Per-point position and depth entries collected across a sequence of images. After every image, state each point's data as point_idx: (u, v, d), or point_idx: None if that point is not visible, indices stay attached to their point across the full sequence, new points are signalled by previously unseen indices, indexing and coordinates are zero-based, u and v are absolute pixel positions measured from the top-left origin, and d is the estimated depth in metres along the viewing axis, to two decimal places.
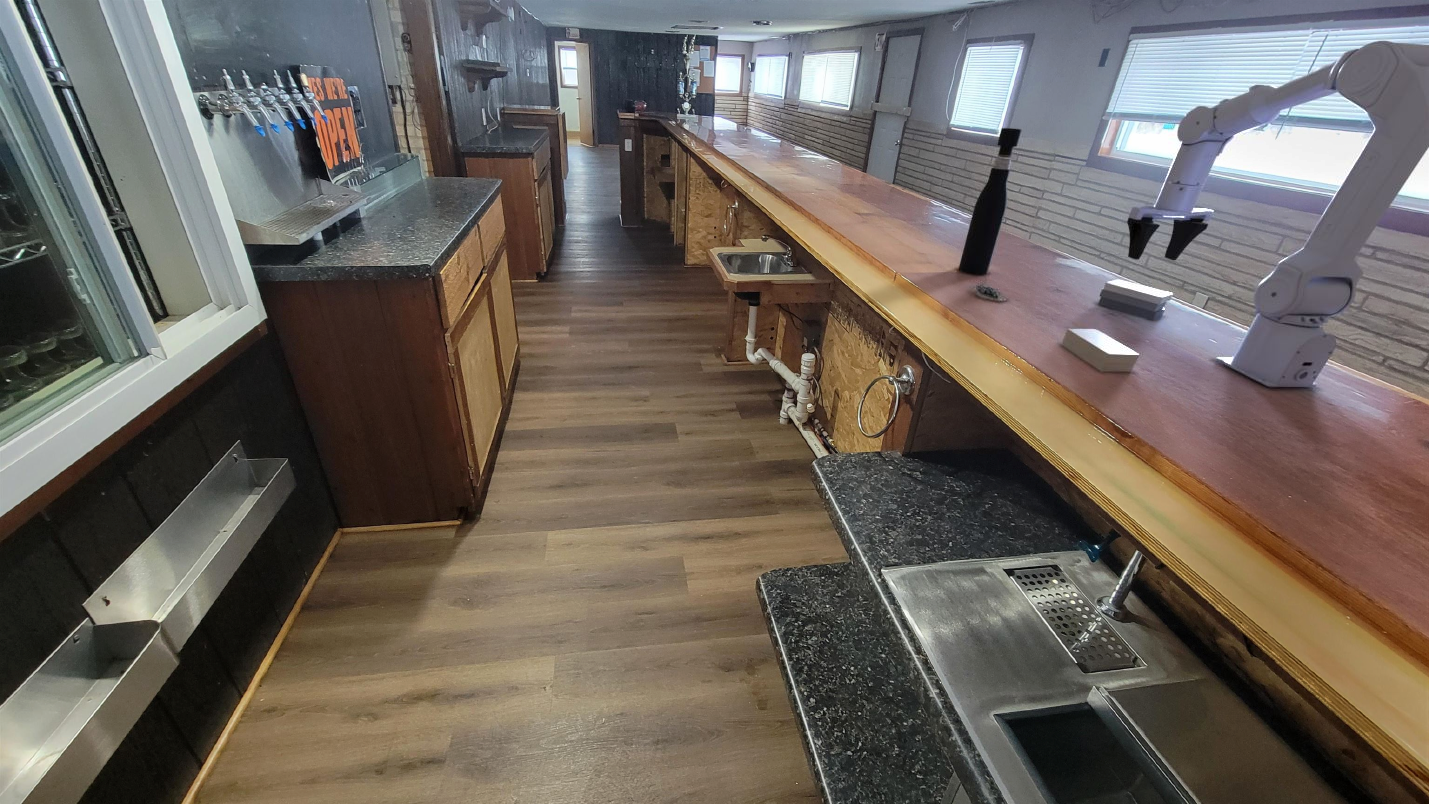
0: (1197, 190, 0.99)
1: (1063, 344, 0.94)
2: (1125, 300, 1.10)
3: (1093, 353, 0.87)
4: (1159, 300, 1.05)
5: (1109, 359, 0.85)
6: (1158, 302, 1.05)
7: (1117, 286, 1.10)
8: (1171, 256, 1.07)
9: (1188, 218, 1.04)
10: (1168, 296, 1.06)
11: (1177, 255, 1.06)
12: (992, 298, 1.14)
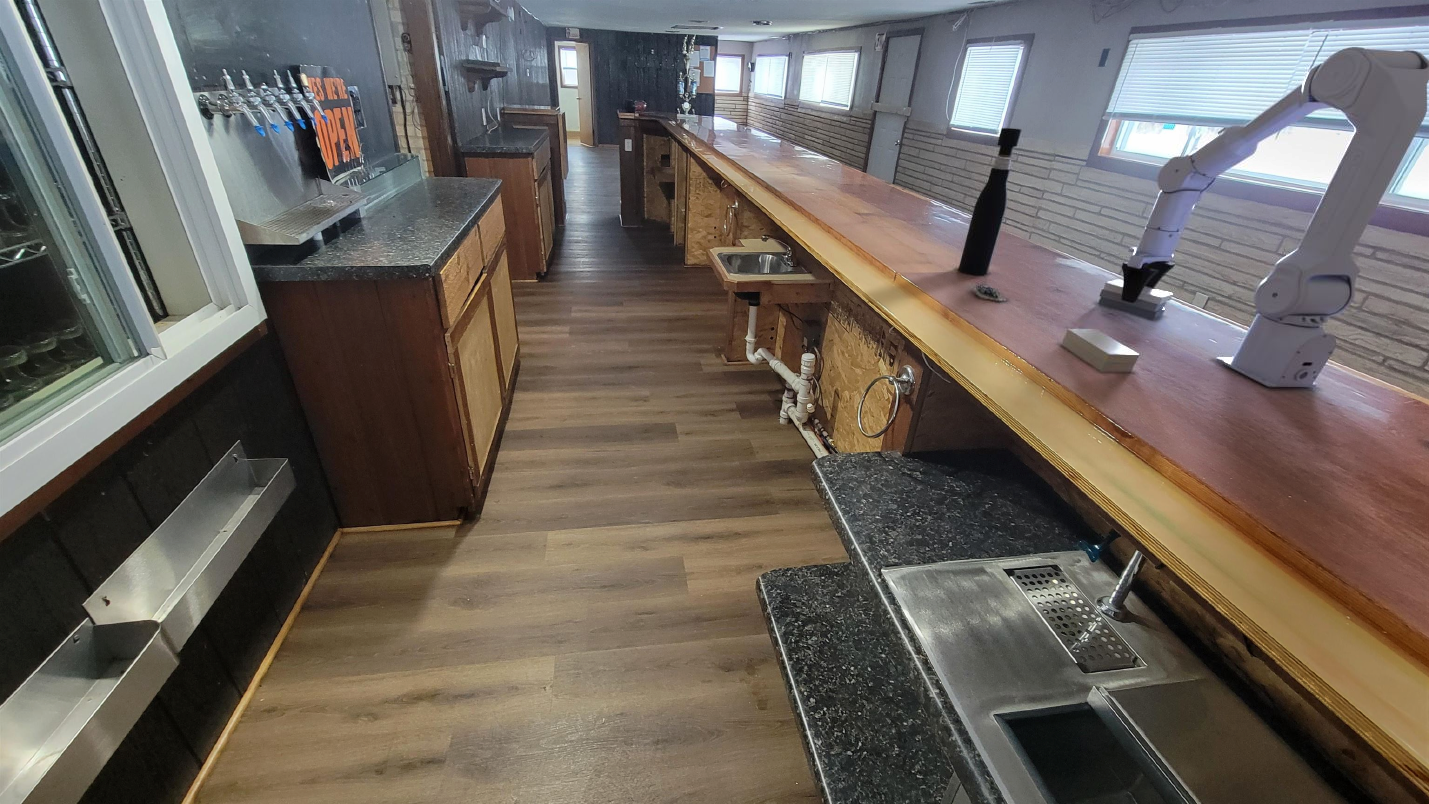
0: (1180, 235, 1.02)
1: (1063, 344, 0.94)
2: None
3: (1093, 353, 0.87)
4: (1159, 300, 1.05)
5: (1109, 359, 0.85)
6: (1158, 302, 1.05)
7: (1117, 286, 1.10)
8: None
9: None
10: (1168, 296, 1.06)
11: None
12: (992, 298, 1.14)
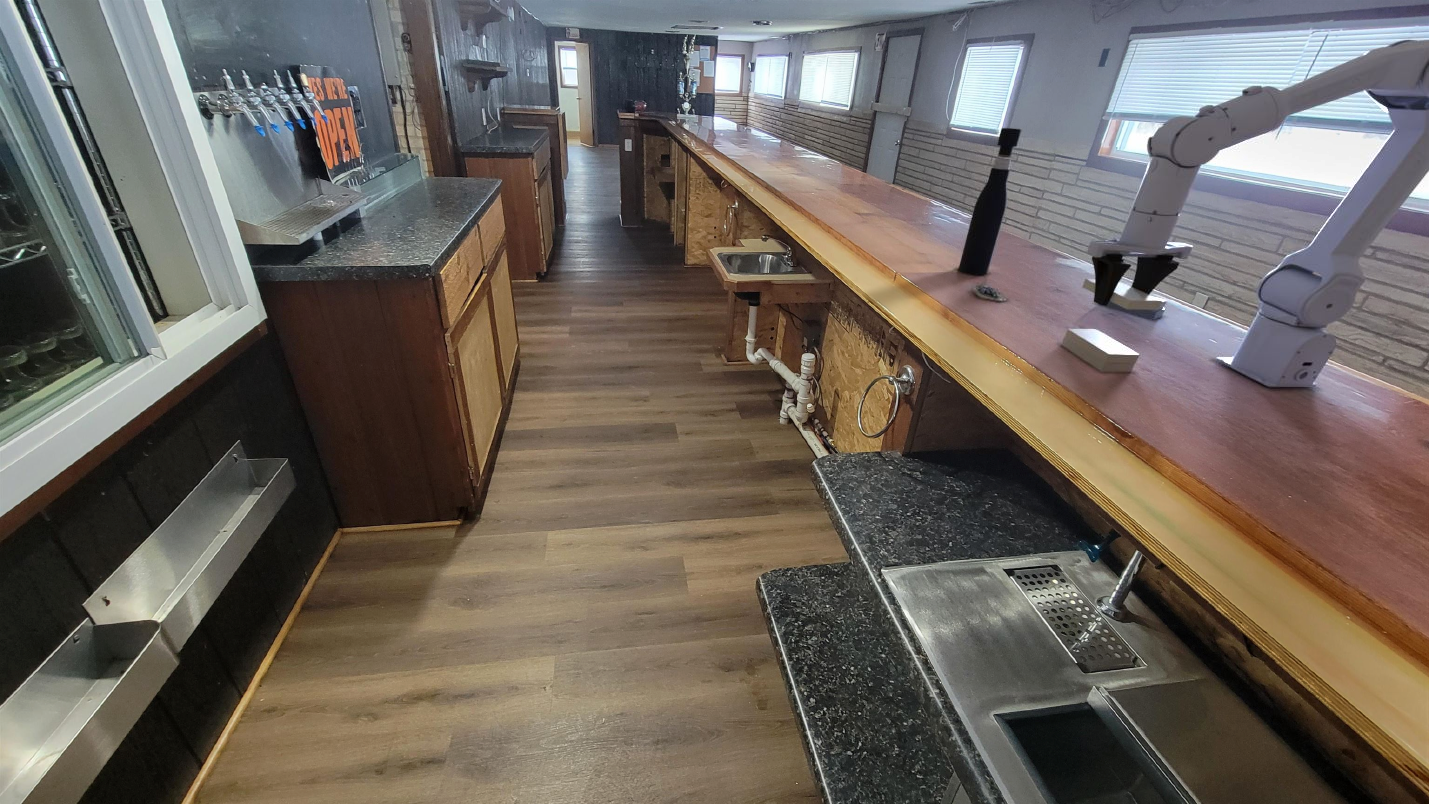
0: (1171, 221, 0.77)
1: (1063, 344, 0.94)
2: None
3: (1093, 353, 0.87)
4: (1127, 304, 0.81)
5: (1109, 359, 0.85)
6: (1126, 306, 0.81)
7: (1094, 284, 0.87)
8: None
9: (1154, 255, 0.82)
10: (1149, 302, 0.81)
11: None
12: (992, 298, 1.14)
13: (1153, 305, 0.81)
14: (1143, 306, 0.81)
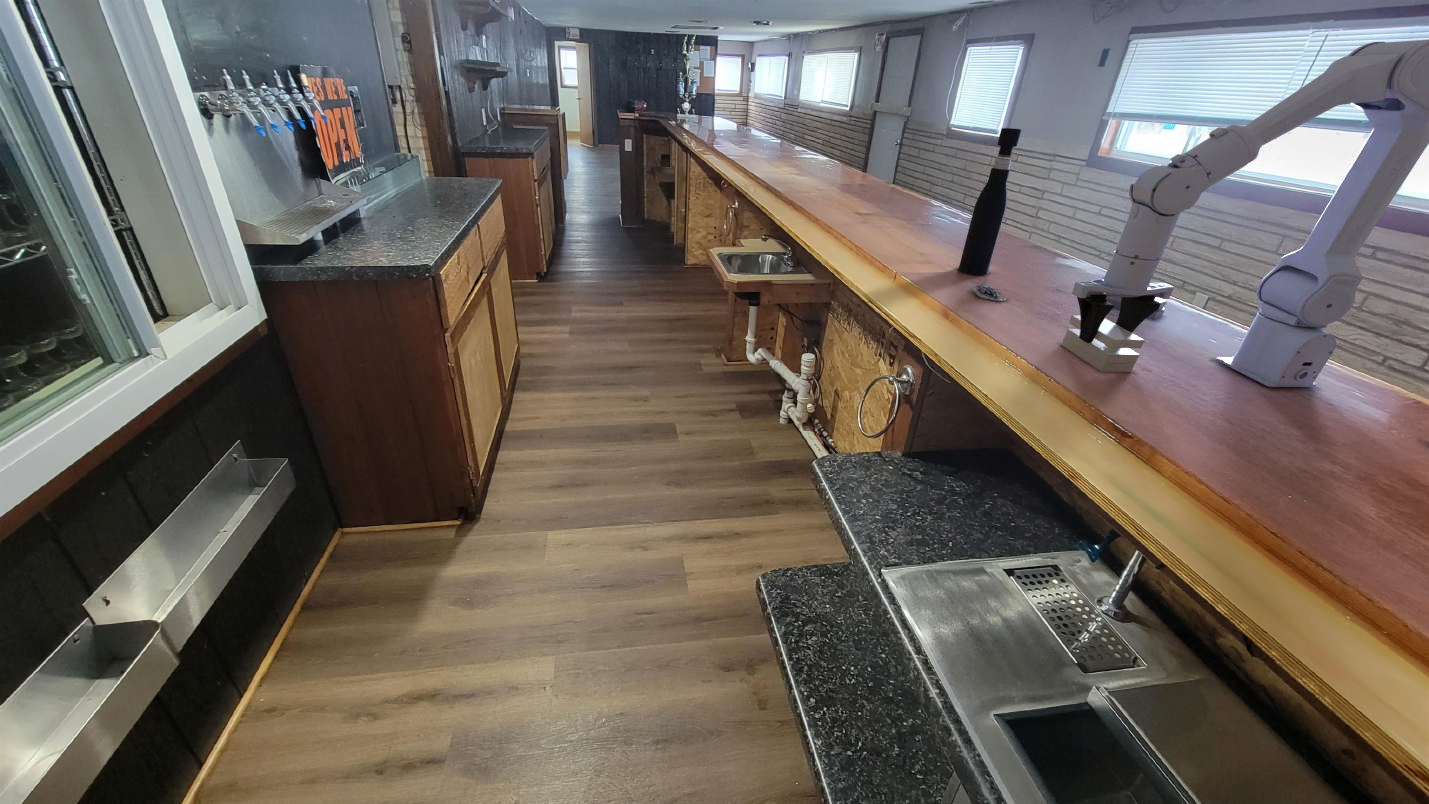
0: (1152, 265, 0.80)
1: (1063, 344, 0.94)
2: None
3: (1093, 353, 0.87)
4: (1111, 343, 0.84)
5: (1109, 359, 0.85)
6: (1109, 345, 0.84)
7: (1080, 321, 0.90)
8: None
9: None
10: (1132, 341, 0.84)
11: None
12: (992, 298, 1.14)
13: (1136, 344, 0.84)
14: (1126, 345, 0.84)
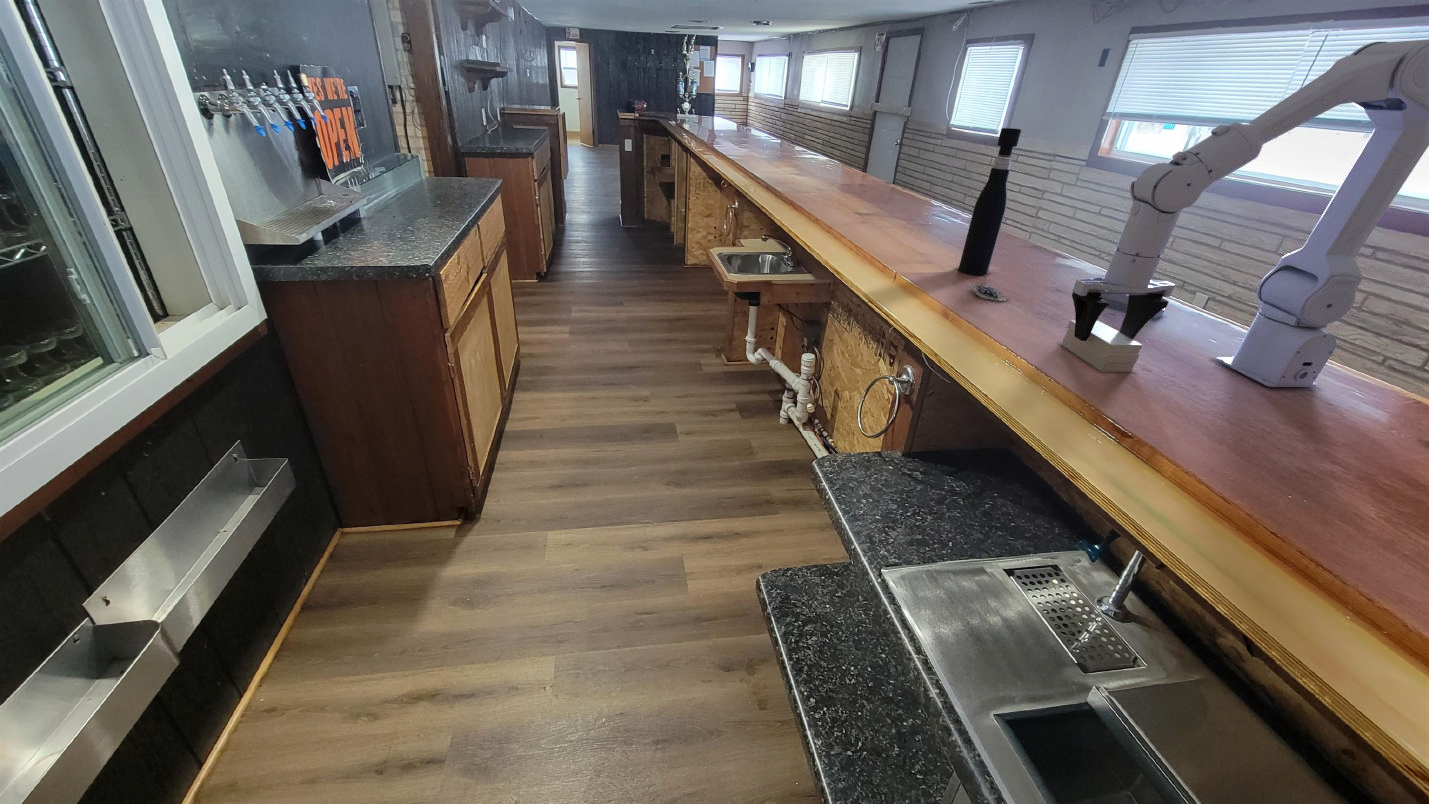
0: (1153, 263, 0.80)
1: (1063, 344, 0.94)
2: (1125, 300, 1.10)
3: (1093, 353, 0.87)
4: (1109, 348, 0.84)
5: (1109, 359, 0.85)
6: (1107, 350, 0.85)
7: None
8: None
9: (1145, 293, 0.85)
10: (1130, 346, 0.84)
11: (1133, 336, 0.88)
12: (992, 298, 1.14)
13: (1133, 349, 0.85)
14: (1124, 350, 0.84)
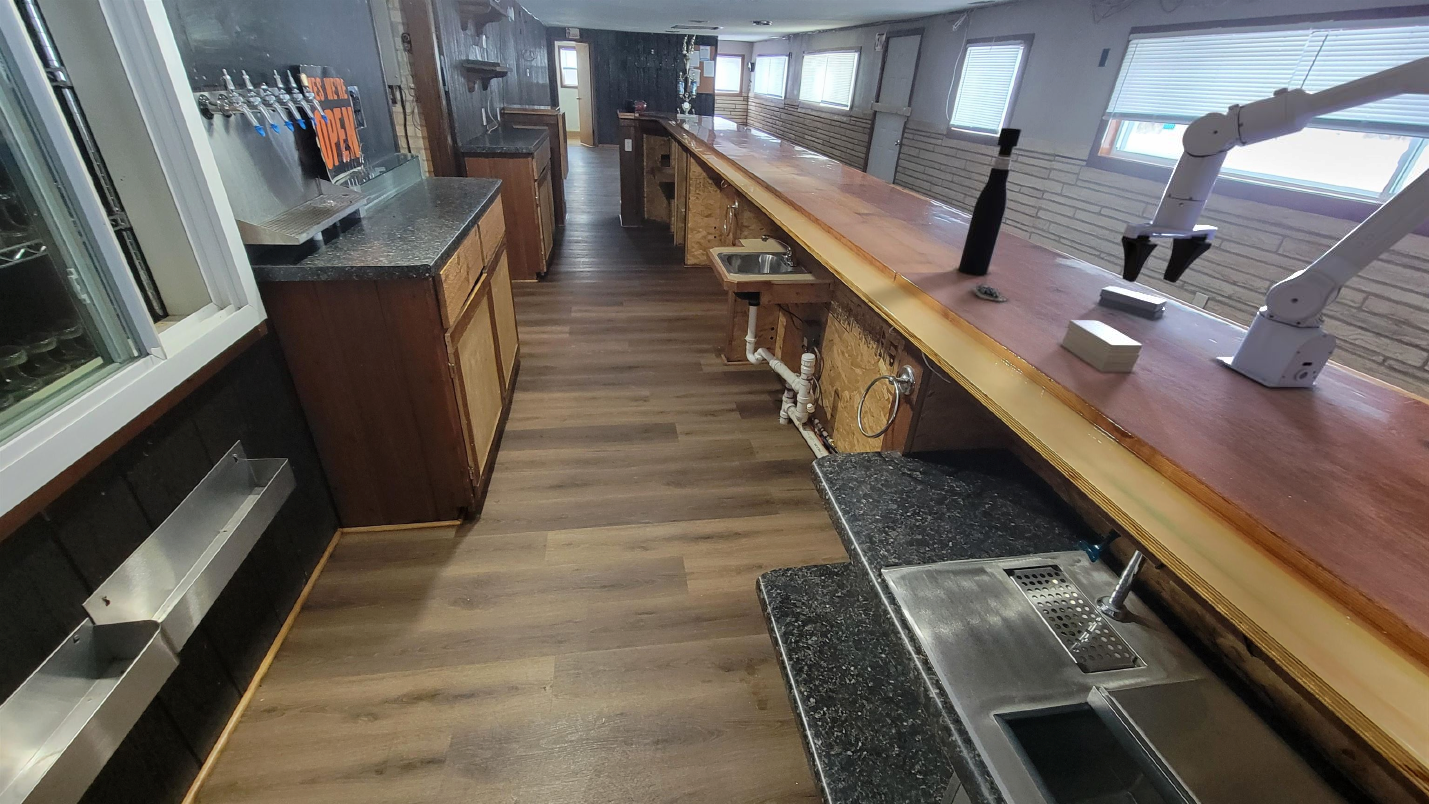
0: (1199, 206, 0.88)
1: (1063, 344, 0.94)
2: (1125, 300, 1.10)
3: (1093, 353, 0.87)
4: (1109, 348, 0.84)
5: (1109, 359, 0.85)
6: (1107, 350, 0.85)
7: (1078, 326, 0.91)
8: (1171, 278, 0.96)
9: (1189, 236, 0.93)
10: (1130, 346, 0.84)
11: (1177, 277, 0.95)
12: (992, 298, 1.14)
13: (1133, 349, 0.85)
14: (1124, 350, 0.84)
